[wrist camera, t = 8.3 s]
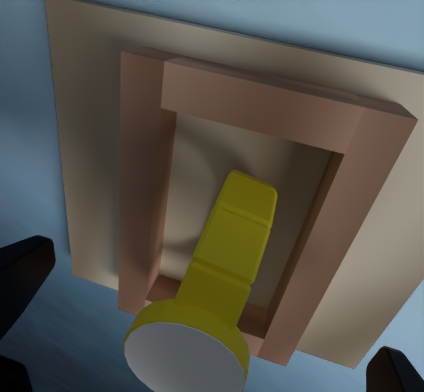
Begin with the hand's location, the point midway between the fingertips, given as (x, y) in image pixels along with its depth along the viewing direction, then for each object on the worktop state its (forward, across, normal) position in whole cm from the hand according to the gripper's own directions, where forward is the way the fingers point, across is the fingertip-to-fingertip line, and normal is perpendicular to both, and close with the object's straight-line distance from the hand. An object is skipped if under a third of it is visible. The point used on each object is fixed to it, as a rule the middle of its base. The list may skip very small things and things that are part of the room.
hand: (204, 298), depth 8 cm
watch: (+4, 0, 0) cm, 4 cm away
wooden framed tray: (+5, 0, 0) cm, 5 cm away
